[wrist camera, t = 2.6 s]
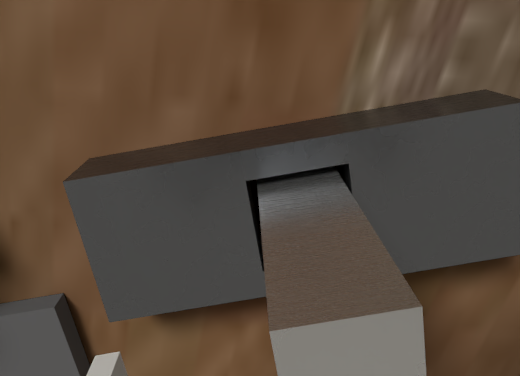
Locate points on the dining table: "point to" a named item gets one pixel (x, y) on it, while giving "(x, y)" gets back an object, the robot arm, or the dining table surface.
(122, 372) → the robot arm
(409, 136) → the grey block with hole
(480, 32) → the dining table surface
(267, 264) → the steel peg
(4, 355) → the rubber mat
